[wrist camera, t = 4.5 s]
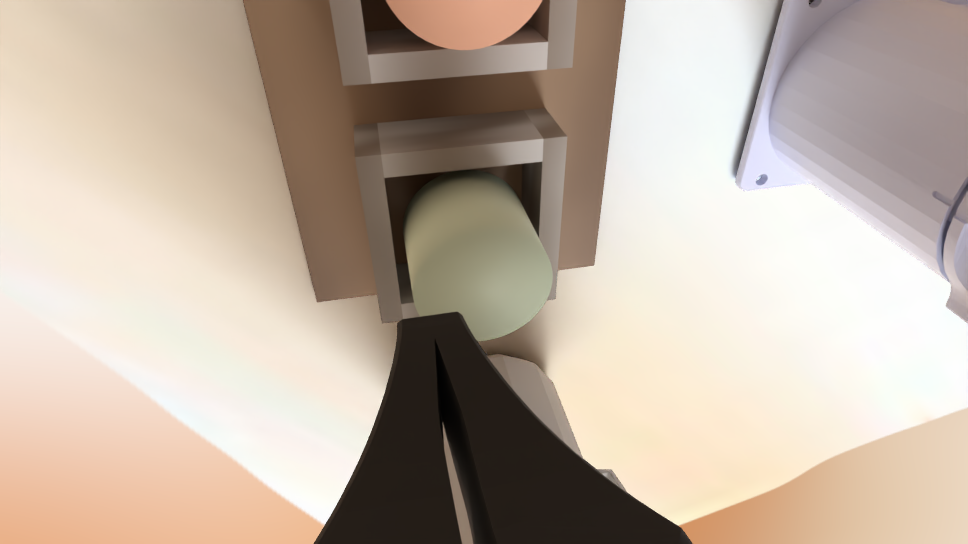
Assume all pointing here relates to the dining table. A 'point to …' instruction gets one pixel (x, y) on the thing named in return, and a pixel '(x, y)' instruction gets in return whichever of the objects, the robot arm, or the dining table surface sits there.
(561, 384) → the dining table surface
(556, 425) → the water bottle
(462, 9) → the terracotta button
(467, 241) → the sage button
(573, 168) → the button board
